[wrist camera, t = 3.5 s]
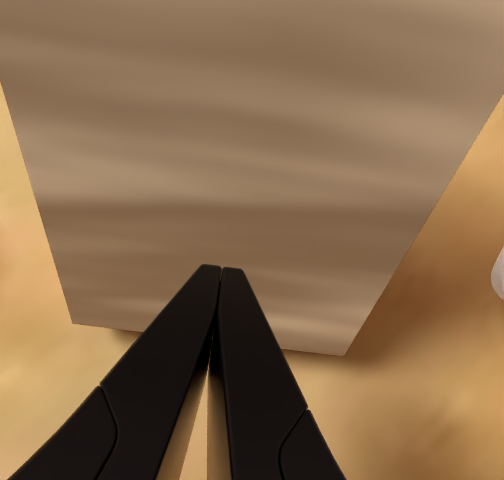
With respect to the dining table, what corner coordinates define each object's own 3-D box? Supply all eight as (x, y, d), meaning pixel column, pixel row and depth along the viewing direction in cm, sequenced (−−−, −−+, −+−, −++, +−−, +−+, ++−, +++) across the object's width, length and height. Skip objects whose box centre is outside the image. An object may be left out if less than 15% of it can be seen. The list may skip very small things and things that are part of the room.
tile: (343, 356, 14) (614, -90, 5) (72, 323, 13) (-94, -235, 5) (336, 296, 16) (533, -111, 7) (97, 265, 15) (5, -220, 7)
